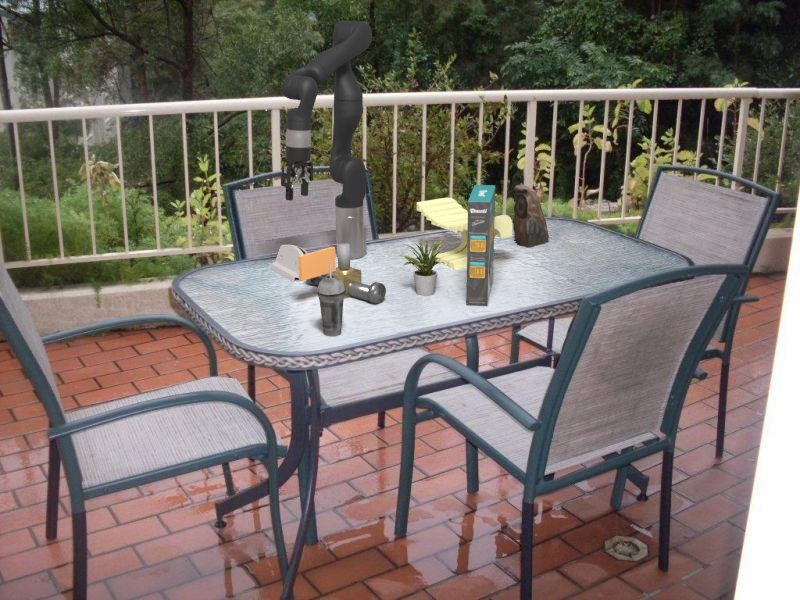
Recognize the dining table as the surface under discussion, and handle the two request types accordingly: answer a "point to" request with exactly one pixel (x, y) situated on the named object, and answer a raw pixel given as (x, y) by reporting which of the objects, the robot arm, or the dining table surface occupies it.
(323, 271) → the lever
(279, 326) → the dining table surface
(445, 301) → the dining table surface
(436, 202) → the slatted curved stool
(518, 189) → the owl
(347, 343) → the dining table surface
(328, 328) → the beverage cup
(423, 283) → the house plant
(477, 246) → the cake mix box
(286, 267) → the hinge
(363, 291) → the valve
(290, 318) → the dining table surface
